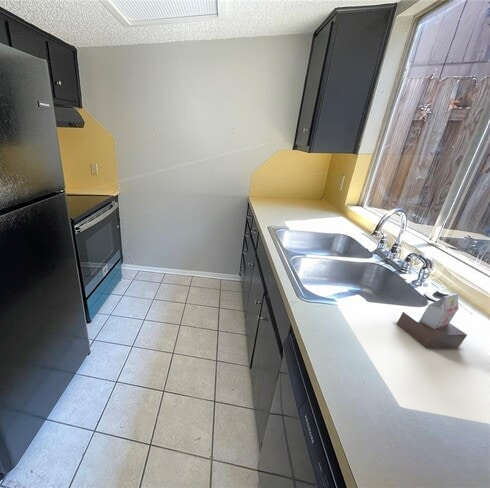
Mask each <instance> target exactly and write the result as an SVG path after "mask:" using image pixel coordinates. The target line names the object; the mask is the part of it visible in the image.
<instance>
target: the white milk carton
mask: <svg viewBox="0 0 490 488" xmlns="http://www.w3.org/2000/svg"><path fill="white" fill-rule="evenodd" d="M459 309H460V308H459V293H452V294H449V295H448V294H447V295H445V296H442V297H441V298H440V299H438V300H436V301H434V302H432V303H430V304H428V305H427V307H426V309H425V311H423V312H424V314H423V316H422V317H421V319H420V321H421V322H423V323H424V324H426V325H428V326H430V327H431V328H433V329H436V328H439V327H443V326H446V325H448V324H449V323H450V324H451V322H452V320H453V319H454V317H455V315H456V313H458V311H459Z"/></svg>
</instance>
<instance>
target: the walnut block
mask: <svg viewBox="0 0 490 488" xmlns="http://www.w3.org/2000/svg"><path fill="white" fill-rule="evenodd" d="M424 312H425V311H402V313H401V315H400V317H399V319H398V320H397V322H396V325H398V326H399V327H400V328H401V329H403V331H405V332H406V333H407V334H408V335H410V336H411V337H412V338H414V339H415V340H416V341H417V342H418V343H420V345H422V346H423V347H424V348H428V349H459V347H460V346H461V345H462V344H463V342H464V340H466V338H467V336H468V334H467V333H465V332H464V331H462V330H461V329H459V328H458V327H456V326H455V325H454V324H452V323H451V322H450V323H449V324H448V325H446V326H443V327H439V328H436V329H433V328H431V327H430V326H428V325H426V324H424V323H423V322H421V321H420V319H421V317H422V316H423V314H424Z"/></svg>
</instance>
